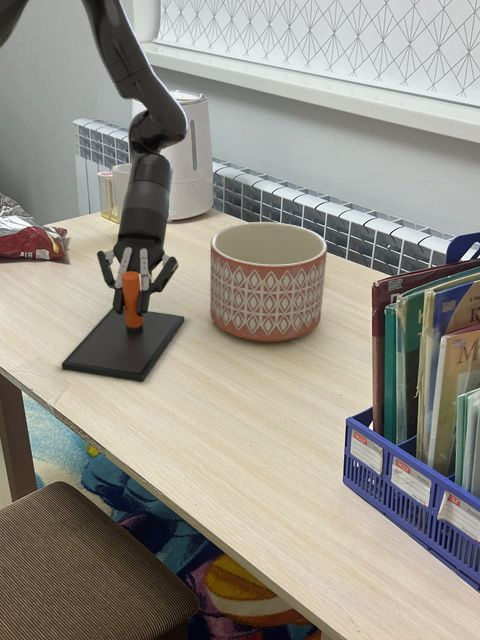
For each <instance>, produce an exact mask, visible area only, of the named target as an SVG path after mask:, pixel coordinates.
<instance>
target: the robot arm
mask: <svg viewBox="0 0 480 640" xmlns="http://www.w3.org/2000/svg"><path fill="white" fill-rule="evenodd" d="M80 1H81V4H82V5H83V8H84V11H85V14H86V17H87V20H88V24H89V28H90V31H91V35H92V38H93V42H94V45H95V48H96V50H97V53H98V56H99V58H100V61H101V63H102V65H103V67H104V69H105V71H106V72H107V74H108V77H109V78H110V80H111V82H112V84H113V86H114V88H115V90H116V92H117V93H118V95H119V96H120V98H122V99H123V100H126V101H127V100H138V101H139V102H140V103H141V104H142V105H143V107H145V109H144V110H142V111H139V112H138V113H137V114H136V115H134V116H133V118H132V119H131V122H130V123H129V127H128V132H127V138H128V149H129V157H130V164H131V165H132V166H131V171H130V177H129V183H128V188H127V192H126V195H125V198H124V203H123V209H122V215H121V221H120V226H119V228H118V234H117V241H116V242H115V244H114V245H113V247H112V249H110V250H108V251H103V250H98V251H97V253H96V257H97V260H98V262H99V267H100V270H101V272H102V277H103V280H104V282H105V285H107V286H108V288H109V289H113V290H114V292H113V299H112V308H114V310H115V311H116V313H117V314H119V315H123V310H124V299H123V288H122V278H121V276H122V274H123V273H125V272H129V271H134V272H137V273H138V274H139V275H140V291H139V297H138V303H137V310H136V313H137V315H138V316H142V317H143V315H144V313H147V311H149V305H150V300H151V299H150V298H151V295H153V294H154V293H159V294H160V293H163V291H164V290H165V288H166V287H167V285H168V284H169V282H170V280H171V279H172V277H173V276H174V274H175V273H176V271H177V270H178V268H179V262H178V259H177V258H176V257H175V256H170V255H168V254H166V252H165V248H164V246H165V239H166V232H167V224H168V219H169V216H170V212H169V211H170V195H171V194H170V193H171V187H172V181H173V173H174V171H173V170H174V169H173V164H172V162H171V160H170V159H169V158H167V156H165V155H163V154H161V152H162V150H165V149H167V148H170V147H172V146H175V145H177V144H180V143H181V142H182V141H184V140H185V139H186V138H187V136H188V132H189V122H188V118H187V114H186V112H185V110H184V108H183V106H182V105H181V103H180V102H179V101H178V100H177V98H176V97H175V96H174V95H173V94H172V93H171V91H170V90H169V89H168V88H167V86H166V84H164V83H163V82H162V80H161V79H160V77H159V76H157V74H156V73H155V71H154V68H153V66H151V65H152V64H151V62H150V61H149V58H148V56H147V54H146V52H145V50H144V48H143V46H142V44H141V42H140V40H139V38H138V36H137V33H136V32H135V29H134V28H133V25H132V23H131V22H130V19H129V17H128V15H127V13H126V11H125V7H124V6H123V3H122V1H121V0H80ZM29 2H30V0H0V49H2V48H3V47H4V46H5V45H6V44H7V43H8V41H9V39H10V38H11V37H12V35H13V34H14V32H15V30H16V28H17V27H18V24H19V22H20V20H21V18H22V16H23V13H24V11H25V9H26V7H27V5H28V4H29ZM115 258H116V260H117V262H118V263H119V268H118V270H117V276H116V279H115V278H114V274H113V271H112V267H111V266H112V265H113V263H114V259H115ZM160 264H161V265H162V268H161V270H160V271H159V273H158V275H157V276H156V278H155V279H154V281H153V271H154V270H155V269H156V268H157V267H158V266H159V265H160Z"/></svg>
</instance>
